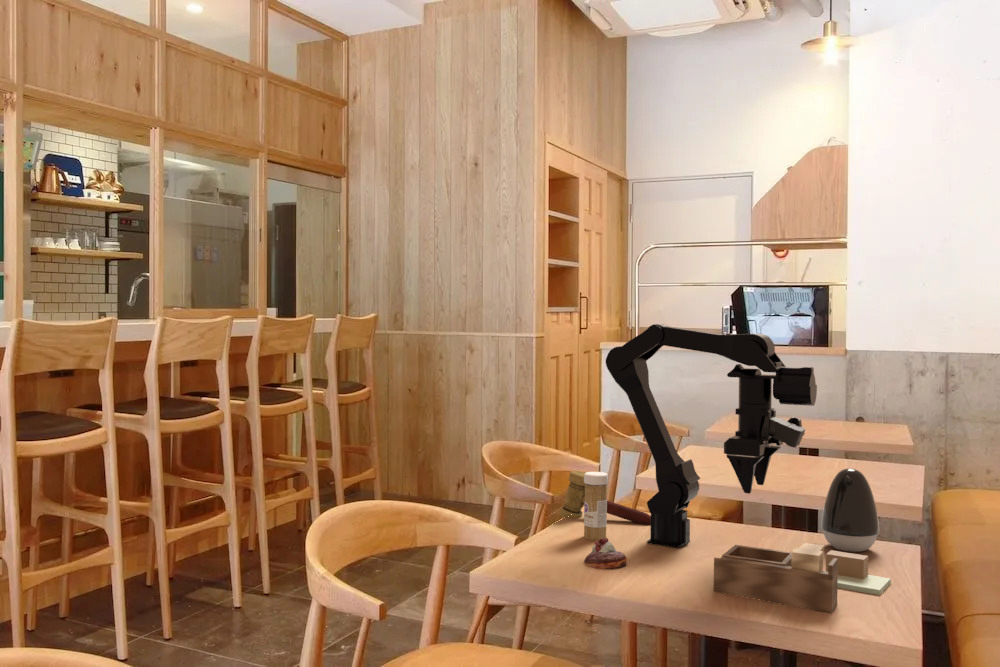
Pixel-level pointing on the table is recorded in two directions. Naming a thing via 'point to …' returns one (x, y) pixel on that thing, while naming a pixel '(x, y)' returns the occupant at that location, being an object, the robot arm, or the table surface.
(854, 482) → the grey white egg shape
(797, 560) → the tan wooden block
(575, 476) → the gavel
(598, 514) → the sprinkles bottle
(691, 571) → the table surface
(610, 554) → the pastry
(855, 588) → the lid
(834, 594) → the toolbox
